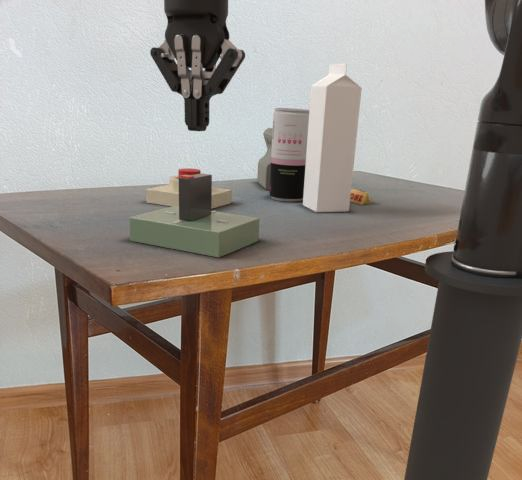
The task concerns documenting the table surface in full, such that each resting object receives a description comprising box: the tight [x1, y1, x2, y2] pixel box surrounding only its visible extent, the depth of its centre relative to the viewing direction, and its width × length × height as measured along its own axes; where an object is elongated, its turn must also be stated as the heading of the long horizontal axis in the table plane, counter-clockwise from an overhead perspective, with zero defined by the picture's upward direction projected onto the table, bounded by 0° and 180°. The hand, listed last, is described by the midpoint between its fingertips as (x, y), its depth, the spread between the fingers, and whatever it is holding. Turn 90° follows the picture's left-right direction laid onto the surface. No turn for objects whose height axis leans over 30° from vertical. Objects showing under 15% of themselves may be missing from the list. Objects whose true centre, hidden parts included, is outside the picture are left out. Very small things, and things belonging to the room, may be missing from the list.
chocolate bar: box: [350, 188, 372, 206], centre depth 109 cm, size 3×12×2 cm, turn 35°
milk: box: [302, 63, 363, 213], centre depth 95 cm, size 6×6×22 cm
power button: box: [177, 167, 202, 179], centre depth 97 cm, size 4×4×2 cm
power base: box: [145, 175, 233, 210], centre depth 98 cm, size 11×9×4 cm
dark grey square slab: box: [179, 173, 213, 221], centre depth 73 cm, size 5×2×5 cm, turn 152°
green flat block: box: [128, 205, 260, 258], centre depth 75 cm, size 13×10×3 cm
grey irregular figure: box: [256, 127, 273, 191], centre depth 117 cm, size 16×9×11 cm, turn 179°
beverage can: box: [268, 107, 310, 203], centre depth 103 cm, size 7×6×15 cm
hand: (197, 130), depth 75 cm, fingers closed
